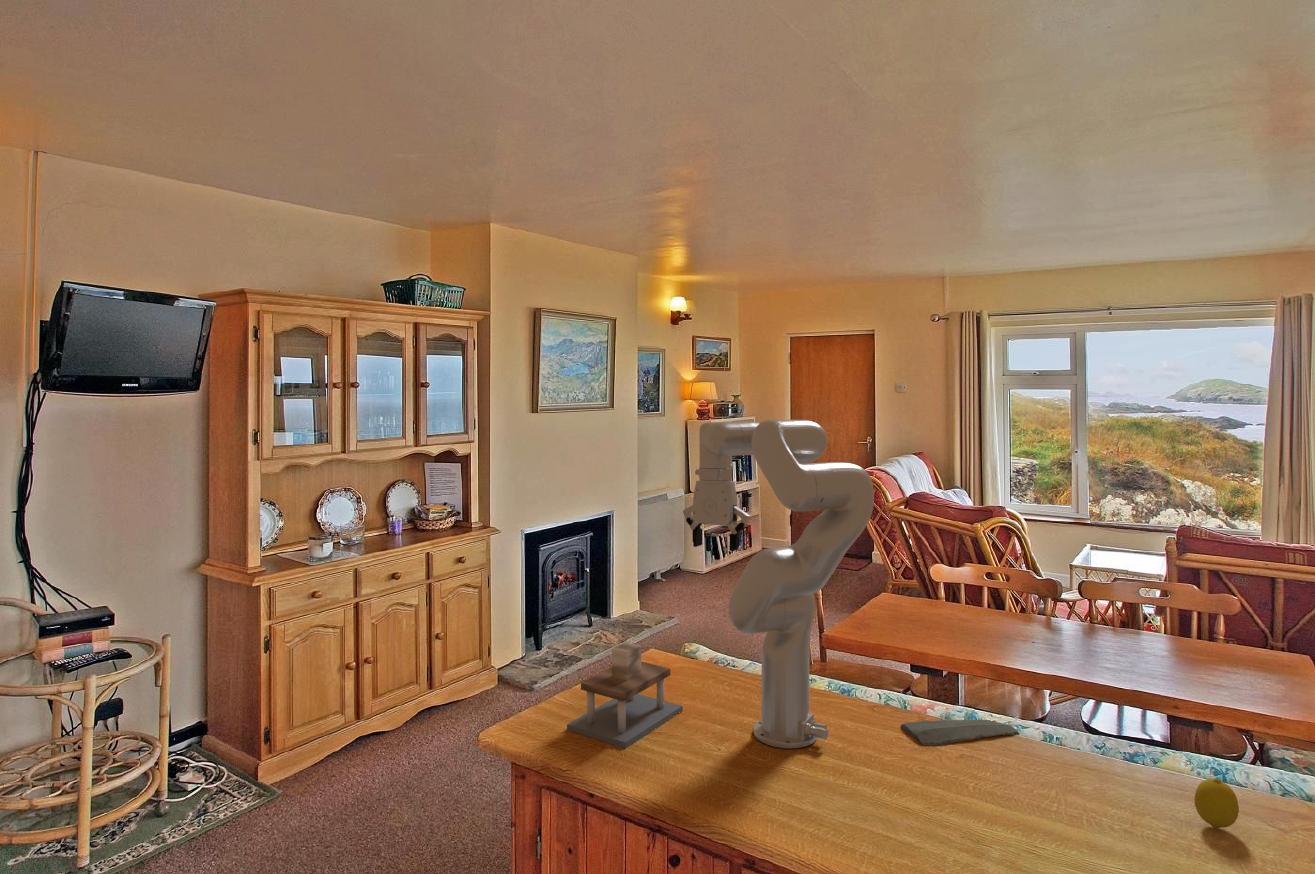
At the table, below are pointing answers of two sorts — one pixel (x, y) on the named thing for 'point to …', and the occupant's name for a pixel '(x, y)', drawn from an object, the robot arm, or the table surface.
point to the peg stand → (624, 718)
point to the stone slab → (954, 730)
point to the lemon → (1216, 803)
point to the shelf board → (625, 686)
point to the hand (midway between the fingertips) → (715, 548)
